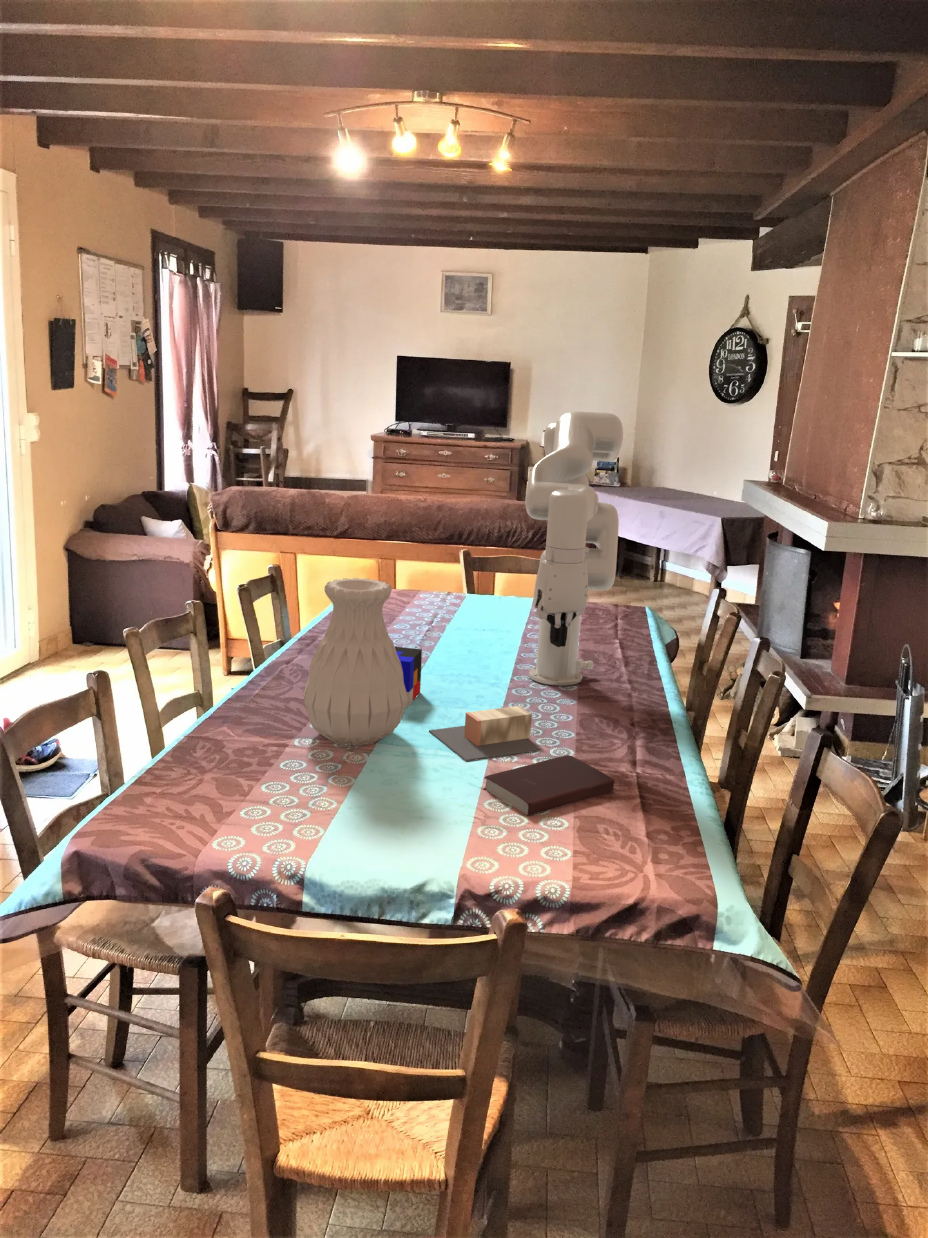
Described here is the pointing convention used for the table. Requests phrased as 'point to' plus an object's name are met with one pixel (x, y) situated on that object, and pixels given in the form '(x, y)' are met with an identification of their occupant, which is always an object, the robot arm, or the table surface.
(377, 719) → the vase
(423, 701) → the table surface
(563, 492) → the robot arm
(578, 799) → the book
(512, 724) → the tall block
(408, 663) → the puzzle toy
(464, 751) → the mat
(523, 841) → the table surface
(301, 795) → the table surface
